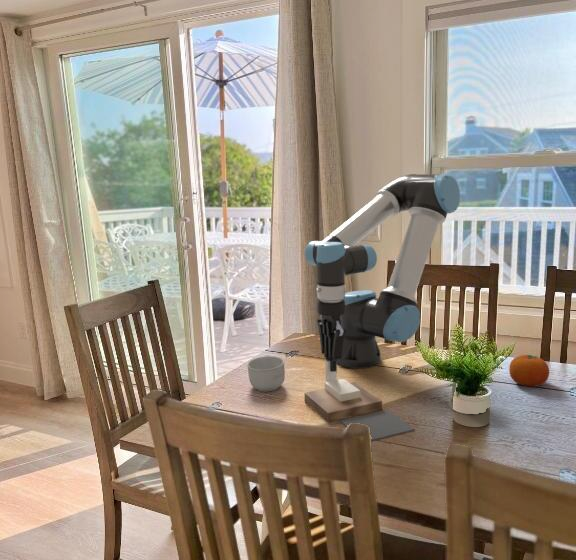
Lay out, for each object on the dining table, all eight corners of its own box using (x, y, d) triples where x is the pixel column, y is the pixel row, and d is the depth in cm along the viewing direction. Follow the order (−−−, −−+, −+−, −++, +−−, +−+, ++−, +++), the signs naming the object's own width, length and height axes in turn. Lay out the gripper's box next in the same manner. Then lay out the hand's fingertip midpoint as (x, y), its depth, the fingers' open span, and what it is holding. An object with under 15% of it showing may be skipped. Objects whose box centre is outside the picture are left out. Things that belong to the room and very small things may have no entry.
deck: (355, 390, 159) (355, 382, 159) (382, 409, 147) (382, 400, 146) (304, 401, 153) (304, 392, 153) (328, 422, 140) (327, 413, 140)
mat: (387, 410, 146) (387, 409, 146) (414, 429, 135) (414, 428, 135) (340, 421, 141) (340, 420, 141) (365, 442, 130) (365, 441, 130)
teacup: (280, 396, 157) (280, 369, 155) (243, 394, 159) (242, 367, 157) (290, 377, 170) (289, 352, 169) (256, 375, 172) (255, 351, 171)
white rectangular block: (343, 385, 157) (343, 378, 156) (360, 397, 149) (360, 390, 148) (324, 389, 154) (324, 382, 154) (340, 401, 146) (340, 394, 146)
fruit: (533, 394, 154) (535, 366, 152) (501, 382, 162) (502, 356, 161) (555, 385, 159) (557, 358, 158) (523, 374, 168) (525, 348, 166)
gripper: (308, 295, 156) (309, 375, 161) (329, 306, 144) (329, 391, 149) (332, 293, 159) (332, 371, 163) (354, 303, 147) (354, 387, 152)
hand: (331, 380), depth 156 cm, fingers closed
